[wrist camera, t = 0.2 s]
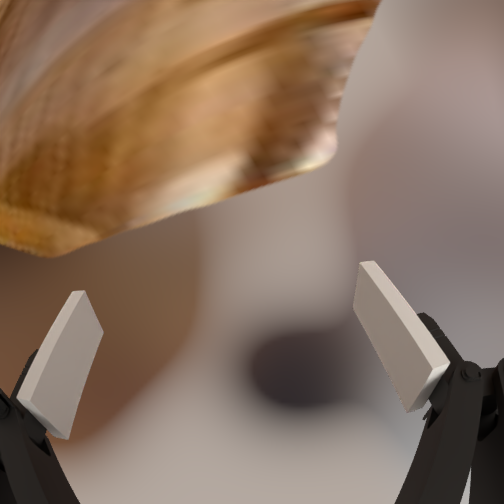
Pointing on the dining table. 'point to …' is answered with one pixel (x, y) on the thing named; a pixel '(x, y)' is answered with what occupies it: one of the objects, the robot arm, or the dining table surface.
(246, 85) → the dining table surface
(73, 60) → the dining table surface
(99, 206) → the dining table surface
